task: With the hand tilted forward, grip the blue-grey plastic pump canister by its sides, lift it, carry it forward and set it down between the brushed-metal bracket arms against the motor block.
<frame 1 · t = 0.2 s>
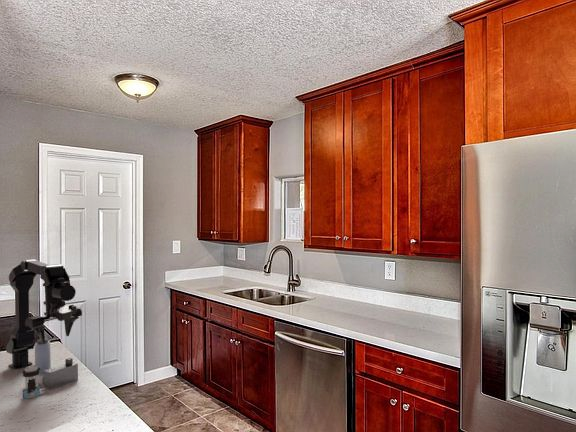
hand: (55, 339, 160), 15 cm above the countertop, tool pointing down, fingers open, 9 cm apart
motor block: (53, 380, 158), on the countertop
pump: (42, 376, 162), on the countertop
push button: (33, 396, 144), on the countertop
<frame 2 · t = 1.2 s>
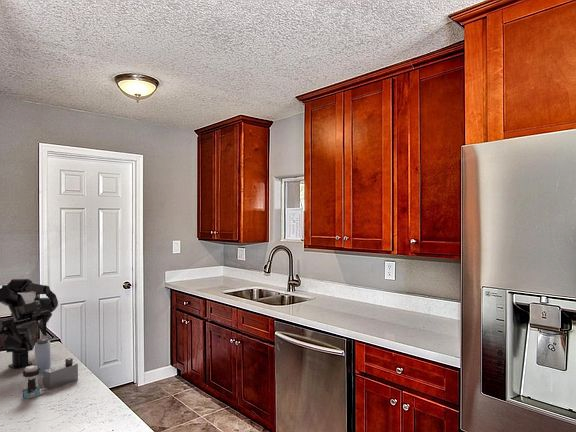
hand: (34, 338, 165), 14 cm above the countertop, tool tilted 45°, fingers open, 9 cm apart
nothing on the countertop moved.
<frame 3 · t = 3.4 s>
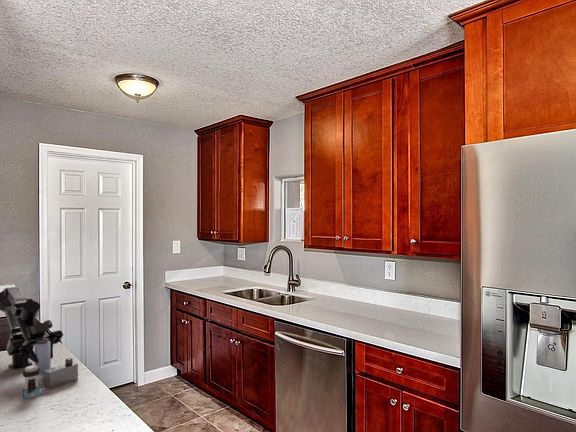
hand: (44, 360, 161), 7 cm above the countertop, tool tilted 45°, fingers closed on pump, 5 cm apart
pump: (42, 376, 162), on the countertop, touching gripper
everything else where it was.
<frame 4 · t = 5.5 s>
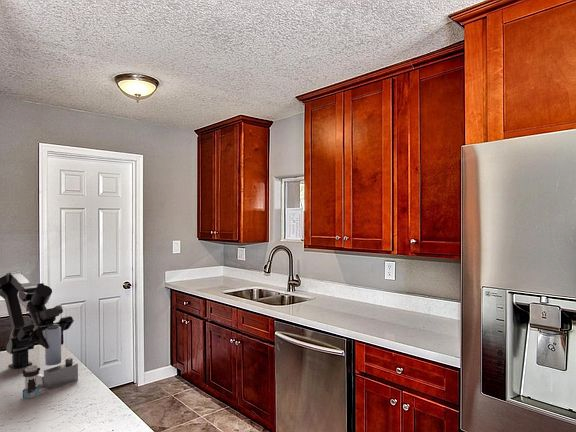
hand: (55, 346, 157), 13 cm above the countertop, tool tilted 45°, fingers closed on pump, 5 cm apart
pump: (53, 363, 158), point 7 cm above the countertop, touching gripper
everything else where it was.
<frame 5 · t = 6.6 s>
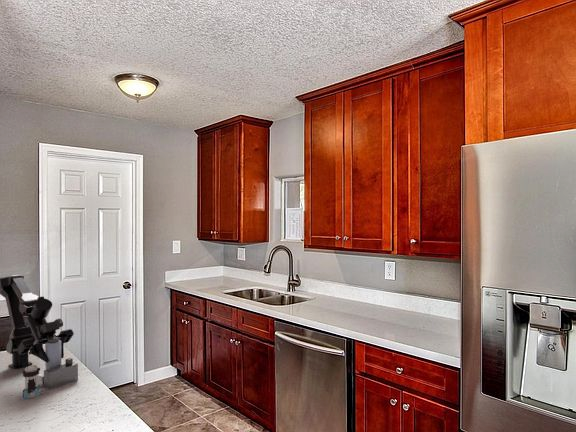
hand: (55, 359, 157), 8 cm above the countertop, tool tilted 45°, fingers closed on pump, 5 cm apart
pump: (53, 376, 158), point 1 cm above the countertop, touching gripper
everything else where it was.
when the fingers open (8 cm above the countertop, at t = 7.4 s): pump drops 1 cm, on the countertop.
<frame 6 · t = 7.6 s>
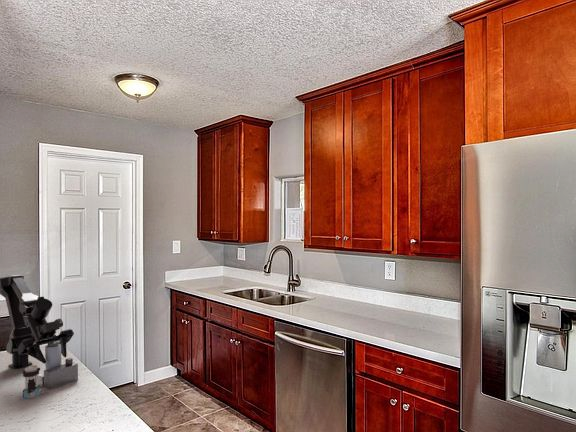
hand: (55, 359, 157), 8 cm above the countertop, tool tilted 45°, fingers open, 7 cm apart
pump: (53, 380, 158), on the countertop
everything else where it was.
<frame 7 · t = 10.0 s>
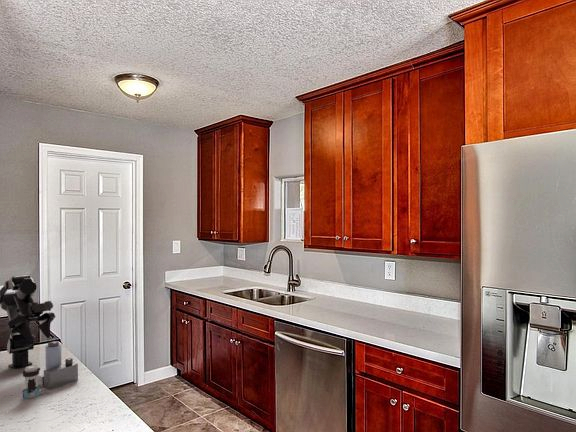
hand: (40, 339, 166), 13 cm above the countertop, tool tilted 35°, fingers open, 9 cm apart
nothing on the countertop moved.
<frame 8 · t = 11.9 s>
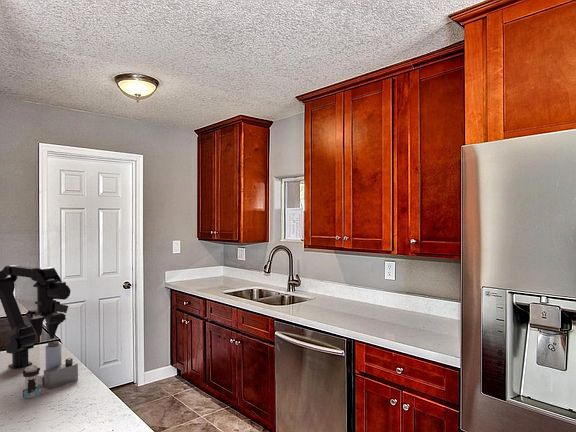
hand: (45, 337, 170), 13 cm above the countertop, tool pointing down, fingers open, 9 cm apart
nothing on the countertop moved.
at the end: pump 0.4 cm off-centre on the motor block, point 0.0 cm above the motor block's base; pump tilted 0°; the gripper is holding nothing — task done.
